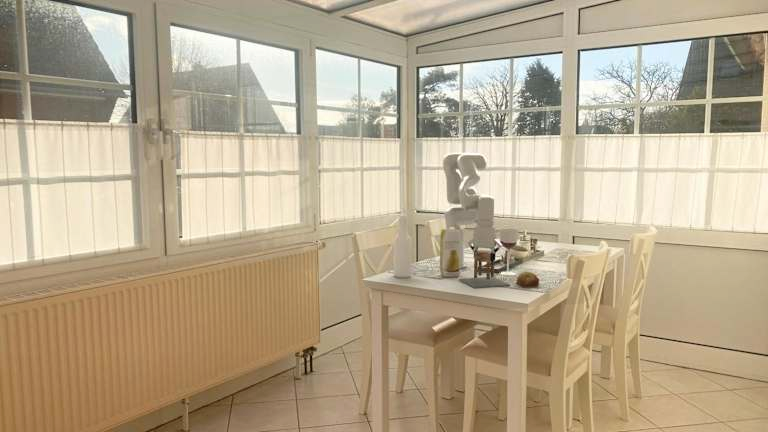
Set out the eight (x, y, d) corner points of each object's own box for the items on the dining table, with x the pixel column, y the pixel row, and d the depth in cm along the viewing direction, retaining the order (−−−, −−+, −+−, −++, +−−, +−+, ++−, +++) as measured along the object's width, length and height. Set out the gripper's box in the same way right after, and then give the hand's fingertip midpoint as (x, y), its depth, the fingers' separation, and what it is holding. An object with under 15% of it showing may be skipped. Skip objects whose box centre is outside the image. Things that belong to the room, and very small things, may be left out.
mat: (458, 280, 269) (458, 278, 269) (492, 277, 274) (492, 276, 274) (473, 288, 252) (474, 287, 252) (510, 285, 257) (510, 284, 257)
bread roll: (517, 290, 264) (510, 275, 263) (536, 280, 265) (530, 265, 264) (524, 295, 255) (517, 280, 254) (544, 285, 255) (537, 270, 254)
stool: (473, 277, 261) (474, 252, 260) (479, 274, 268) (479, 249, 266) (488, 279, 258) (489, 253, 256) (493, 276, 264) (494, 251, 263)
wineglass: (517, 275, 279) (519, 231, 276) (497, 274, 281) (499, 230, 278) (517, 272, 287) (518, 229, 285) (497, 271, 289) (499, 228, 287)
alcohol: (391, 277, 274) (391, 215, 271) (396, 273, 283) (397, 213, 279) (408, 278, 271) (408, 216, 268) (413, 274, 280) (414, 214, 276)
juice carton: (444, 277, 274) (444, 228, 271) (438, 274, 281) (438, 226, 278) (461, 276, 276) (462, 228, 273) (455, 273, 284) (456, 225, 281)
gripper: (464, 222, 261) (463, 260, 263) (501, 225, 252) (500, 264, 254) (470, 220, 267) (469, 257, 269) (506, 223, 259) (505, 261, 261)
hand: (484, 260), depth 262 cm, fingers closed on stool, 7 cm apart
